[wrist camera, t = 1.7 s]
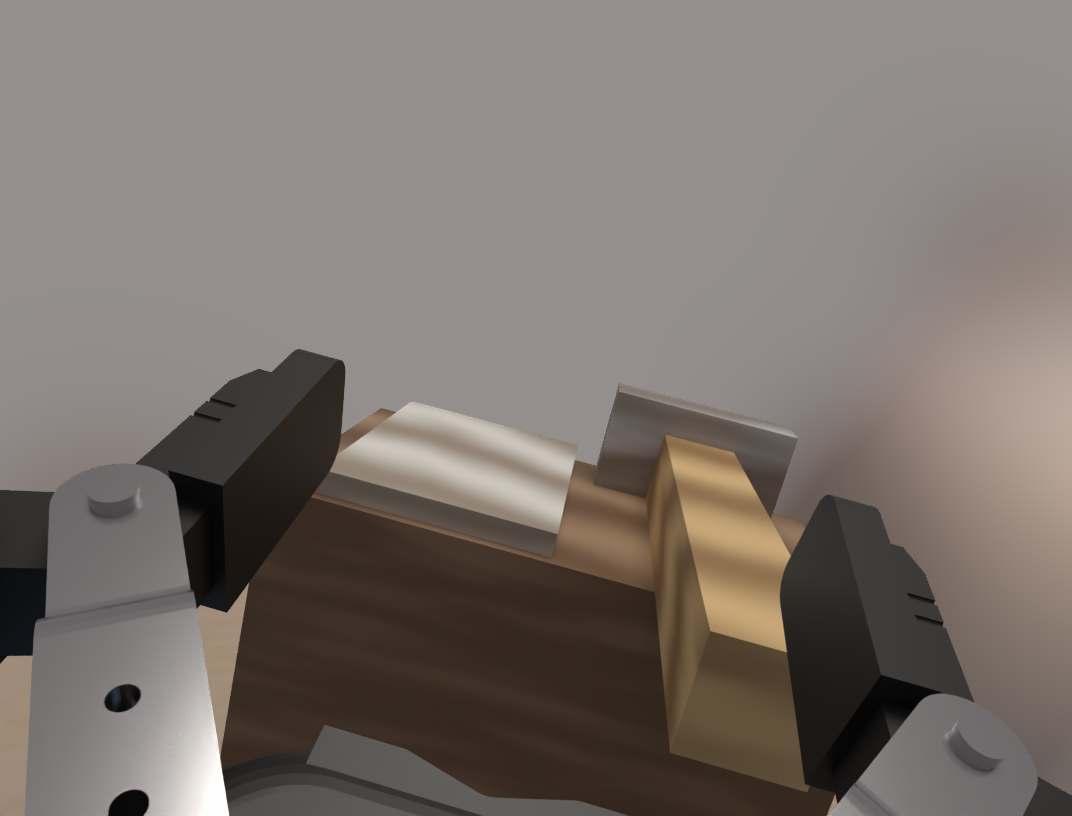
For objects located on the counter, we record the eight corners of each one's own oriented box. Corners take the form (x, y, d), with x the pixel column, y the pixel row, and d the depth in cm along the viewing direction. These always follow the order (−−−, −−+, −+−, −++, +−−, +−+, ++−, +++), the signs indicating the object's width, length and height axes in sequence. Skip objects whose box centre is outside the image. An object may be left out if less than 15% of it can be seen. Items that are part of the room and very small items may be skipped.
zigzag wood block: (650, 1257, 34) (899, 633, 27) (163, 1097, 36) (269, 460, 28) (642, 971, 48) (805, 503, 40) (290, 863, 49) (384, 391, 42)
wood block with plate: (917, 824, 18) (993, 647, 17) (564, 722, 19) (615, 544, 18) (758, 514, 40) (787, 427, 39) (595, 470, 40) (619, 383, 39)
